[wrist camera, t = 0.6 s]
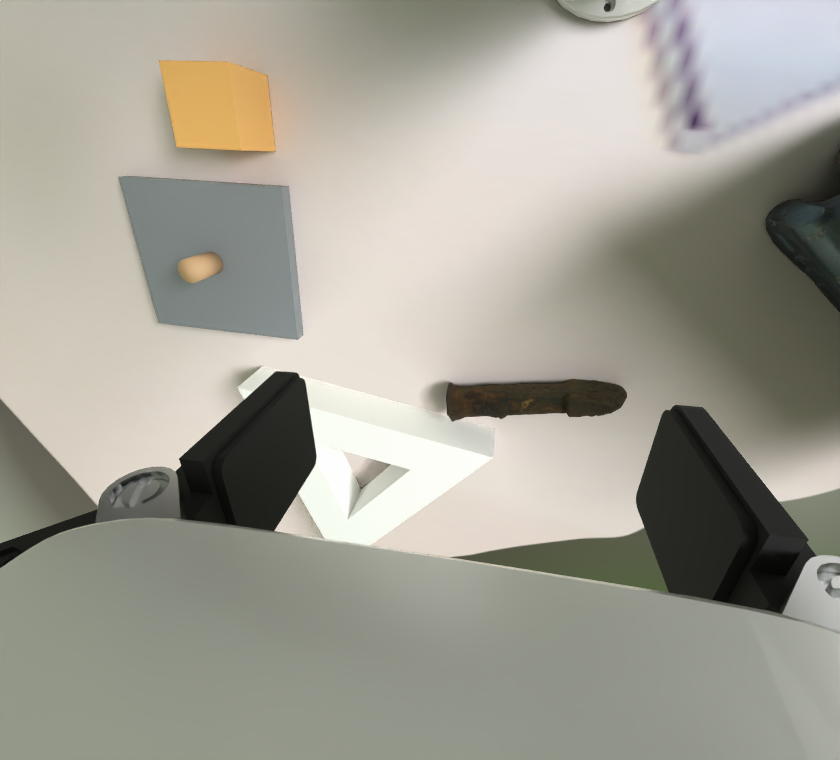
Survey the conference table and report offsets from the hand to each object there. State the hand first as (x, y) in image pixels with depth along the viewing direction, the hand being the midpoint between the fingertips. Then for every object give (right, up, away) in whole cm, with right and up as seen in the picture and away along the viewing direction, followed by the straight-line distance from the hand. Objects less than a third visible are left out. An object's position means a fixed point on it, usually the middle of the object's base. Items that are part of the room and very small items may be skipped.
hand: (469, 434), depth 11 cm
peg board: (-24, +15, +35) cm, 45 cm away
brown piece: (+11, +1, +36) cm, 38 cm away
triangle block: (-9, -11, +47) cm, 49 cm away
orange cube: (-18, +27, +28) cm, 43 cm away
